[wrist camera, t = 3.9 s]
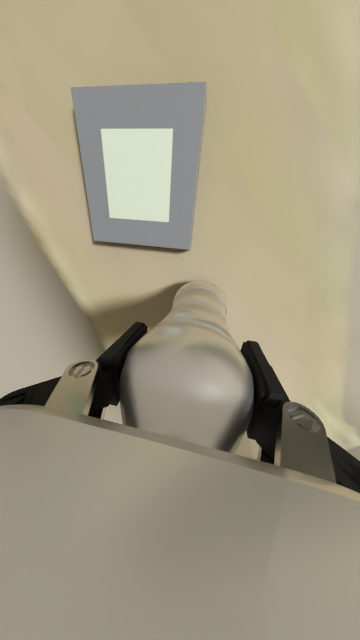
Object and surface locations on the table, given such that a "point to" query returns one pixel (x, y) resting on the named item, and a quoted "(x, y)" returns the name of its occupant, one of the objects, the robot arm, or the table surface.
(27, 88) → the table surface
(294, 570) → the robot arm
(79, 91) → the grey flat square slab
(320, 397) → the table surface
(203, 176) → the table surface
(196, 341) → the plastic bottle
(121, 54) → the table surface
